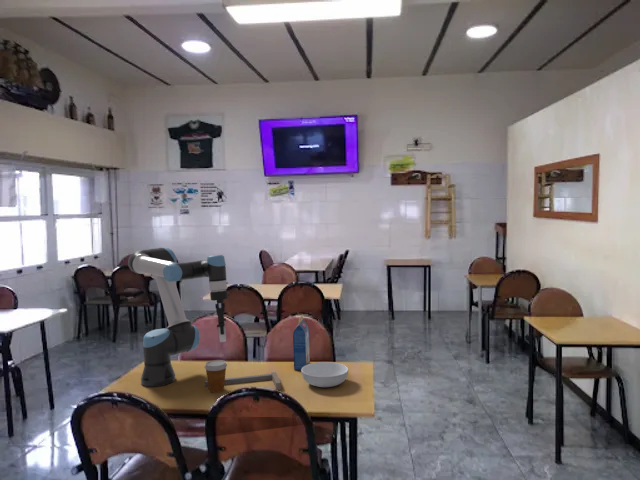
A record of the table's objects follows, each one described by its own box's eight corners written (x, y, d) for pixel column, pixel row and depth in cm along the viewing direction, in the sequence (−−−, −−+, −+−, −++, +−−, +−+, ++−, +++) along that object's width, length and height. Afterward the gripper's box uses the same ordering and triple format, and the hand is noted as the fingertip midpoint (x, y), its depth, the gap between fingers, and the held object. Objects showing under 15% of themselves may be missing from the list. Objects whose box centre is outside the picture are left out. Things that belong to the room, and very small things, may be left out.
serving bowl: (345, 393, 203) (345, 377, 203) (296, 391, 207) (296, 375, 207) (351, 376, 224) (351, 362, 223) (307, 375, 228) (306, 360, 227)
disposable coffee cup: (208, 395, 205) (207, 367, 204) (203, 388, 213) (202, 361, 213) (230, 391, 209) (229, 364, 209) (224, 384, 218) (223, 358, 217)
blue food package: (293, 370, 235) (292, 319, 234) (297, 362, 247) (296, 314, 245) (306, 370, 234) (305, 319, 233) (310, 362, 246) (308, 314, 245)
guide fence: (205, 397, 202) (204, 390, 202) (205, 385, 218) (204, 378, 218) (280, 389, 210) (280, 382, 210) (275, 377, 225) (275, 371, 225)
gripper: (227, 292, 200) (232, 343, 200) (227, 287, 224) (231, 332, 225) (209, 294, 199) (213, 345, 199) (210, 289, 223) (214, 334, 223)
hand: (222, 339), depth 212 cm, fingers open, 13 cm apart
